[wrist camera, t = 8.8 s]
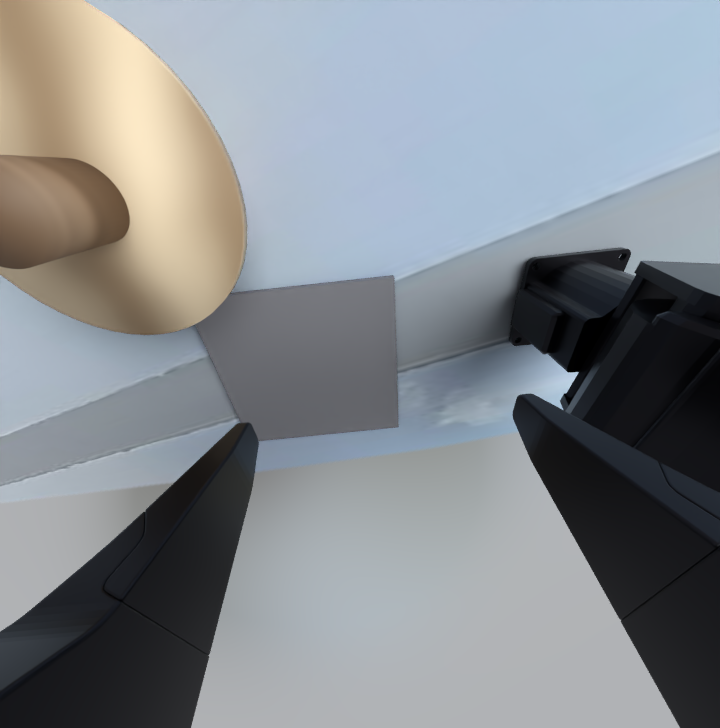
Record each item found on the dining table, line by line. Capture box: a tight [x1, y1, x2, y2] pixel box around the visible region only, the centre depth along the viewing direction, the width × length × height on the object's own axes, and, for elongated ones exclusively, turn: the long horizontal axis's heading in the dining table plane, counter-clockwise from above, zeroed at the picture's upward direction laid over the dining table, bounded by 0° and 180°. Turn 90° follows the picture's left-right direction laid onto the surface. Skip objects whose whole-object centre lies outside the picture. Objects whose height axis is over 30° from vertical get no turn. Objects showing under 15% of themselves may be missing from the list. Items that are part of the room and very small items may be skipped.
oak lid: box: [0, 0, 247, 335], centre depth 10 cm, size 12×12×5 cm
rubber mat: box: [195, 275, 398, 441], centre depth 23 cm, size 14×14×1 cm
